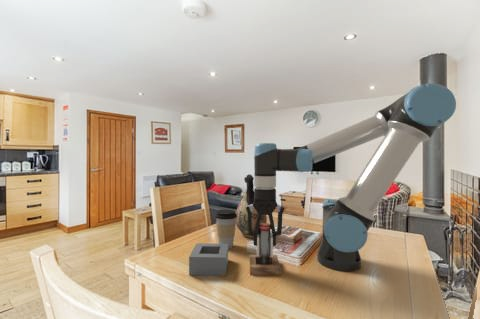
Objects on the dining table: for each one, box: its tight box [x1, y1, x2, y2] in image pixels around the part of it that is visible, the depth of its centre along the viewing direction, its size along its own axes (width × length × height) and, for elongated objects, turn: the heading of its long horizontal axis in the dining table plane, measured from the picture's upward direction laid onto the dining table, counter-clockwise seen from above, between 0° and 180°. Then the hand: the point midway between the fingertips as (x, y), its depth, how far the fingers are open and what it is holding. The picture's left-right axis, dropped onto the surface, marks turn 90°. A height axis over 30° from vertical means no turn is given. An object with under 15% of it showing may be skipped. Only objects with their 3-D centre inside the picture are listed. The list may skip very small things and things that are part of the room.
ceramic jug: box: [235, 173, 268, 239], centre depth 120 cm, size 17×15×30 cm
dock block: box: [188, 242, 229, 277], centre depth 86 cm, size 12×12×6 cm
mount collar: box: [249, 254, 282, 276], centre depth 86 cm, size 10×10×2 cm
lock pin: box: [258, 222, 272, 265], centre depth 86 cm, size 5×5×15 cm
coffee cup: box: [214, 209, 237, 250], centre depth 105 cm, size 9×9×15 cm
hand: (264, 254), depth 86 cm, fingers closed on lock pin, 4 cm apart
